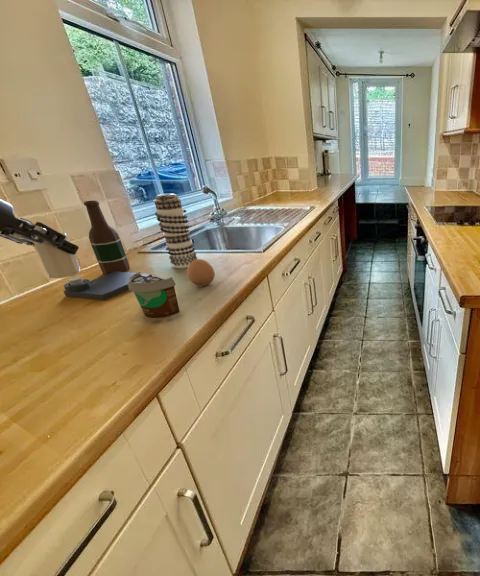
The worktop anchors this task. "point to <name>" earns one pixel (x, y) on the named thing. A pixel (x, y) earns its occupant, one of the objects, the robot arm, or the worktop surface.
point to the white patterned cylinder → (175, 230)
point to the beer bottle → (105, 242)
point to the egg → (200, 272)
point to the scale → (101, 286)
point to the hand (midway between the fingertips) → (64, 249)
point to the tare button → (76, 281)
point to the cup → (57, 261)
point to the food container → (154, 295)
